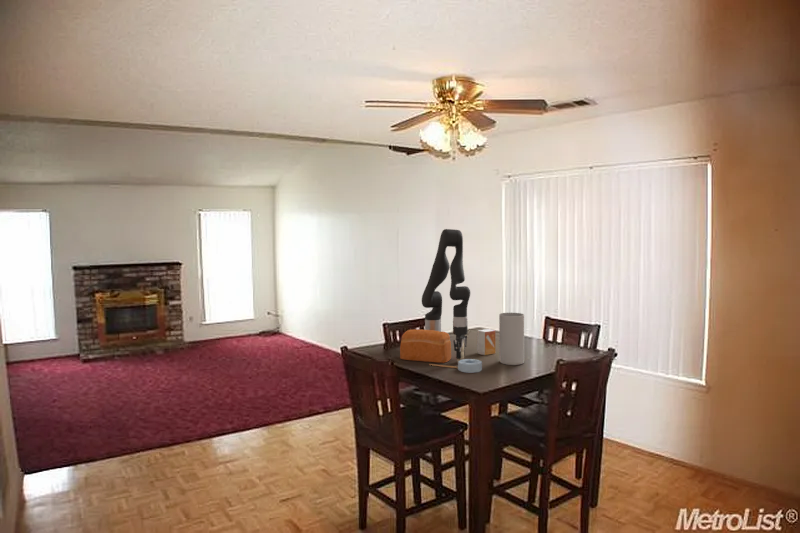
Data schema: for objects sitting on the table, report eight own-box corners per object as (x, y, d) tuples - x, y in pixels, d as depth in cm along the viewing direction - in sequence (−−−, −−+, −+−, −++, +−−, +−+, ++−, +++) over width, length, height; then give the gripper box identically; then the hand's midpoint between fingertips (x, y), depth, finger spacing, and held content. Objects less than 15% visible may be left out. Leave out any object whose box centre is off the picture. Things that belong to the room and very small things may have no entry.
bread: (444, 364, 282) (444, 334, 280) (398, 360, 292) (397, 330, 291) (453, 358, 294) (452, 329, 293) (408, 354, 305) (407, 326, 303)
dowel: (456, 363, 283) (455, 340, 282) (458, 361, 286) (458, 339, 285) (462, 363, 281) (462, 340, 280) (465, 362, 284) (464, 339, 284)
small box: (484, 355, 298) (484, 332, 297) (477, 353, 304) (476, 330, 303) (495, 353, 303) (495, 330, 302) (488, 351, 308) (487, 328, 307)
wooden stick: (428, 365, 279) (428, 363, 279) (429, 365, 280) (429, 363, 280) (459, 368, 272) (459, 367, 272) (460, 368, 272) (460, 366, 272)
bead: (455, 371, 267) (455, 363, 267) (463, 365, 277) (463, 358, 277) (477, 373, 263) (476, 365, 262) (484, 368, 272) (484, 360, 272)
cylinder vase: (527, 365, 277) (527, 316, 275) (503, 365, 276) (502, 316, 274) (520, 359, 289) (520, 312, 288) (496, 359, 288) (496, 312, 287)
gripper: (458, 322, 290) (458, 353, 292) (448, 326, 277) (448, 359, 279) (471, 323, 287) (472, 355, 288) (462, 327, 274) (462, 361, 275)
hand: (460, 357), depth 283 cm, fingers open, 5 cm apart
